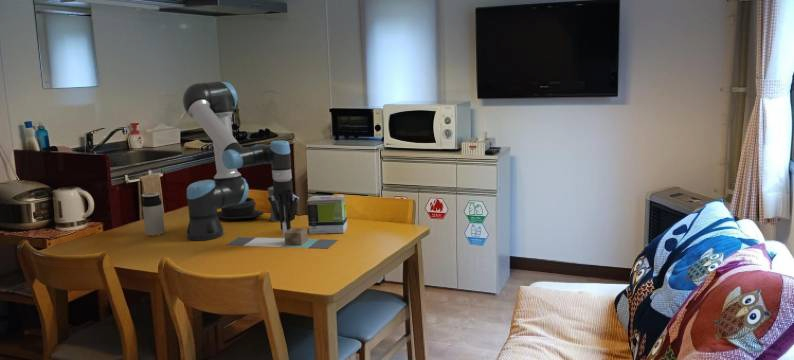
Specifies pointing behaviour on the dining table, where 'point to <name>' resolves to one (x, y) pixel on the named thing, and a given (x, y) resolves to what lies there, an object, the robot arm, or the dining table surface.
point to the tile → (266, 242)
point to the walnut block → (296, 236)
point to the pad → (305, 245)
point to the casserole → (240, 211)
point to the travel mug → (152, 214)
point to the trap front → (323, 244)
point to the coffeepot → (272, 217)
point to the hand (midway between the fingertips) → (286, 237)
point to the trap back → (240, 241)
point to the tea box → (327, 214)
